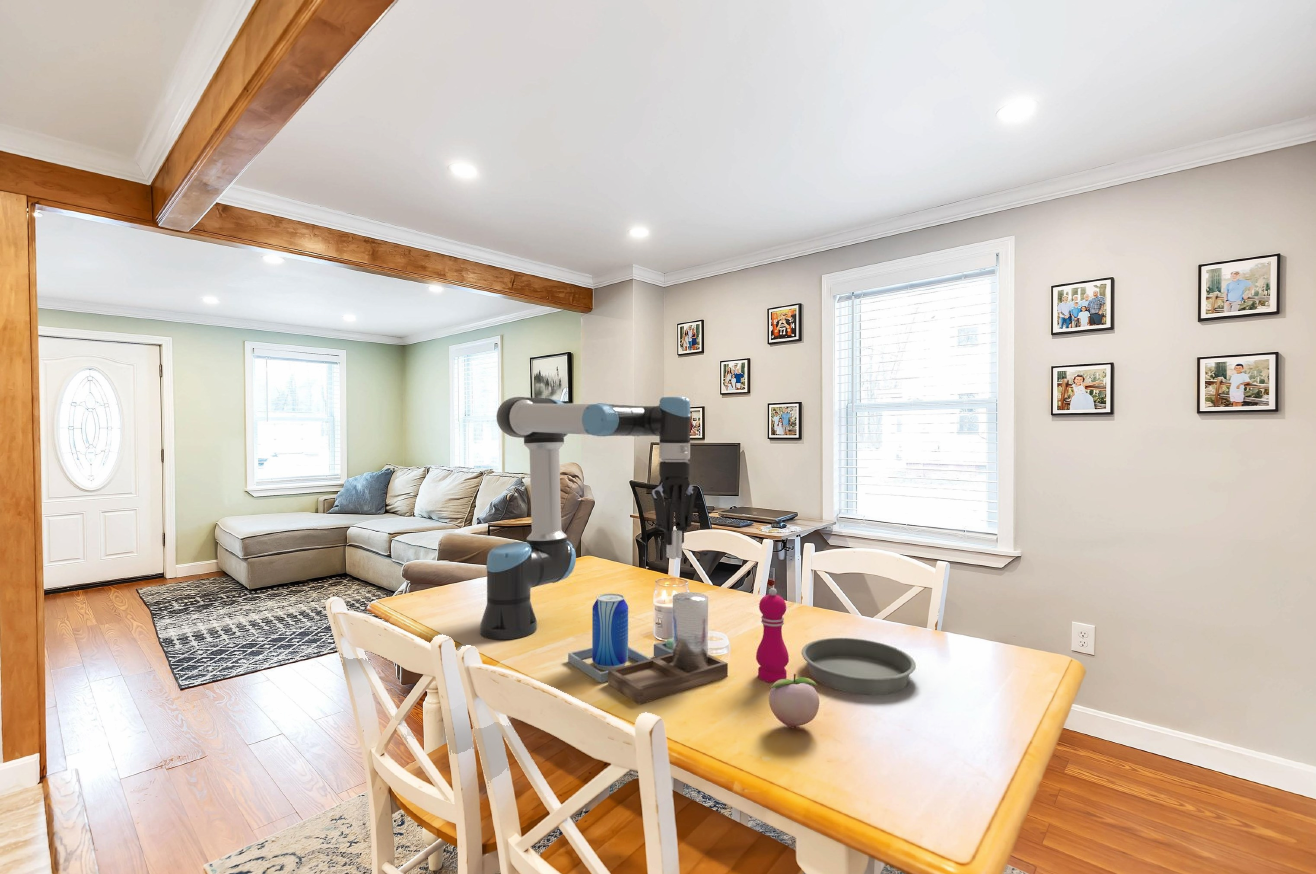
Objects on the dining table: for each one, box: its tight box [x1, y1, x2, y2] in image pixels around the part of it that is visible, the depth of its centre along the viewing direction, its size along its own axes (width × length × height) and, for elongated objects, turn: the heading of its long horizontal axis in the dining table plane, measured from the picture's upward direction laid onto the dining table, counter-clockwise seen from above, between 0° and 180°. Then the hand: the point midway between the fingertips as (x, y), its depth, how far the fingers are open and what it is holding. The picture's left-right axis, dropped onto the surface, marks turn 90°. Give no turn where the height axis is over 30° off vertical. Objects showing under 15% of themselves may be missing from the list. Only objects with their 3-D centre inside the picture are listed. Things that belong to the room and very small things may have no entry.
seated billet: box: [672, 591, 709, 673], centre depth 137 cm, size 8×8×16 cm
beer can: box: [591, 593, 629, 671], centre depth 142 cm, size 8×8×16 cm
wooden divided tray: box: [607, 653, 729, 705], centre depth 133 cm, size 12×24×3 cm, turn 126°
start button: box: [665, 637, 673, 650], centre depth 147 cm, size 4×4×4 cm
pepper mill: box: [755, 587, 790, 684], centre depth 135 cm, size 7×7×20 cm
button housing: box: [653, 640, 673, 658], centre depth 147 cm, size 7×7×3 cm
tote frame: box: [567, 646, 652, 684], centre depth 142 cm, size 15×14×2 cm
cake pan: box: [801, 637, 917, 695], centre depth 137 cm, size 25×25×4 cm
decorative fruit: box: [768, 673, 820, 729], centre depth 112 cm, size 9×8×10 cm
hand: (674, 557), depth 147 cm, fingers closed
